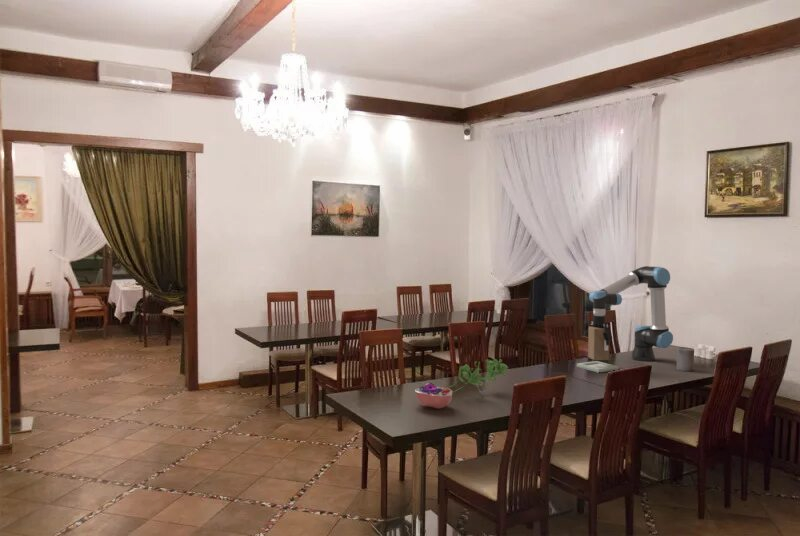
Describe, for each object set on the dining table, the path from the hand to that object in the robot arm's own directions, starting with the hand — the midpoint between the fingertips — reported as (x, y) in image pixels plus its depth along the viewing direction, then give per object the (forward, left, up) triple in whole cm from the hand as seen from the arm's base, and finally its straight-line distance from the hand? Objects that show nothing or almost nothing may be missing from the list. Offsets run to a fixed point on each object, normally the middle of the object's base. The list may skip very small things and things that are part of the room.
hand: (598, 348), depth 372 cm
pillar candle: (-48, +27, -13) cm, 57 cm away
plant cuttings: (+105, +16, -13) cm, 107 cm away
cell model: (+139, +28, -13) cm, 142 cm away
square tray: (0, 0, -13) cm, 13 cm away
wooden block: (0, 0, -7) cm, 7 cm away
